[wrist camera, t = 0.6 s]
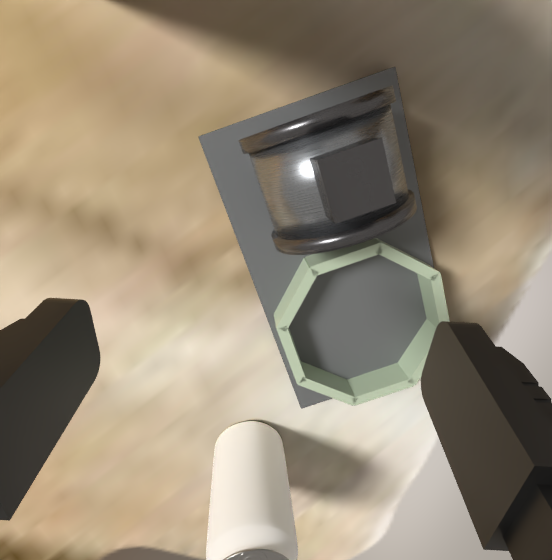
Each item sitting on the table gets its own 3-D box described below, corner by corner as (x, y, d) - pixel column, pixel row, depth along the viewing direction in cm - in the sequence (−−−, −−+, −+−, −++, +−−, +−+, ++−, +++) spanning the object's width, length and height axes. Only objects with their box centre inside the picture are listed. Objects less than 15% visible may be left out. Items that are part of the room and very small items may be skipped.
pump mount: (199, 136, 27) (194, 135, 24) (389, 69, 27) (410, 58, 23) (299, 401, 35) (305, 428, 32) (445, 352, 35) (466, 374, 32)
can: (280, 414, 36) (300, 539, 24) (284, 467, 38) (303, 605, 27) (210, 422, 35) (197, 553, 24) (218, 476, 37) (209, 619, 26)
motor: (238, 140, 26) (237, 139, 16) (363, 96, 26) (440, 67, 16) (270, 232, 29) (286, 280, 19) (385, 192, 29) (463, 219, 18)
